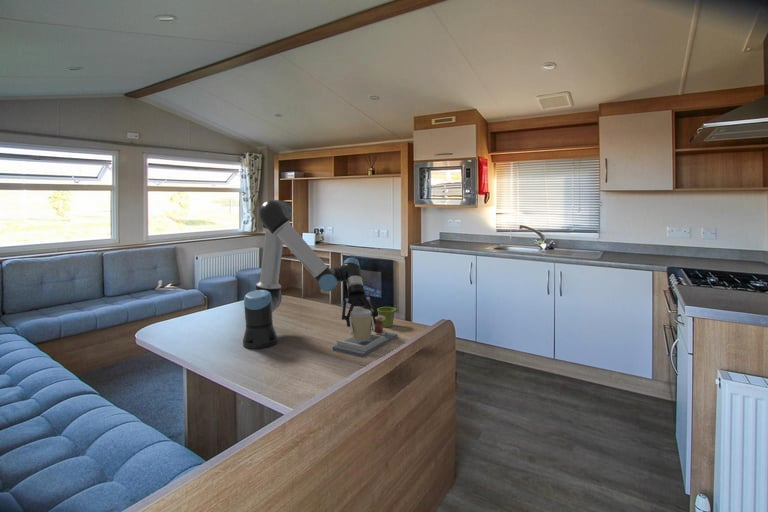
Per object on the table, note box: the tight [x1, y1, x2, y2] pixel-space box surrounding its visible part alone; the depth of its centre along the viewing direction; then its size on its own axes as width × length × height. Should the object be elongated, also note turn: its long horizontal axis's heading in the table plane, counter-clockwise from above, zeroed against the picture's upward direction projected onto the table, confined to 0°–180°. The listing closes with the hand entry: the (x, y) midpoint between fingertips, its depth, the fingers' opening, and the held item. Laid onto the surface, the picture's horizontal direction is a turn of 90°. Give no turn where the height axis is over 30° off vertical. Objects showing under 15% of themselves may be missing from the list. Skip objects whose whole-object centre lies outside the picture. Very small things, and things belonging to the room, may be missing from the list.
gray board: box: [332, 328, 399, 358], centre depth 184 cm, size 28×16×4 cm, turn 147°
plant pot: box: [376, 306, 397, 328], centre depth 209 cm, size 9×9×9 cm
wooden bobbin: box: [372, 314, 386, 336], centre depth 192 cm, size 6×6×8 cm
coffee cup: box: [350, 308, 372, 341], centre depth 180 cm, size 9×9×12 cm
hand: (362, 331), depth 177 cm, fingers closed on coffee cup, 9 cm apart
